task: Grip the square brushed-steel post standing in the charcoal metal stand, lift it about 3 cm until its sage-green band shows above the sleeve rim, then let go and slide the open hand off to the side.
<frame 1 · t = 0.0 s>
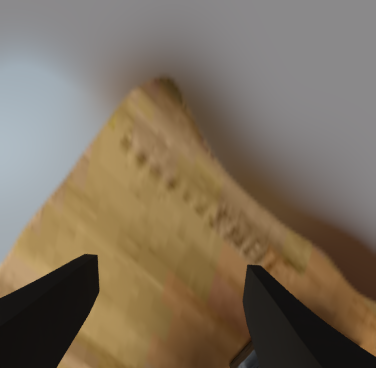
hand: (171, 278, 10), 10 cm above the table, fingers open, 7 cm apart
stand base: (291, 356, 23), on the table
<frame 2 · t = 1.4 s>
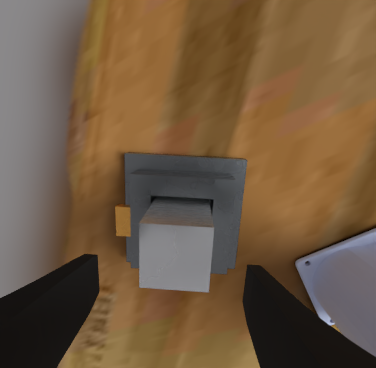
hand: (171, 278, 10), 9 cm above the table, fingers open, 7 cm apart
stand base: (183, 210, 19), on the table
post: (179, 232, 15), point 4 cm above the table, slide at 0.0 cm
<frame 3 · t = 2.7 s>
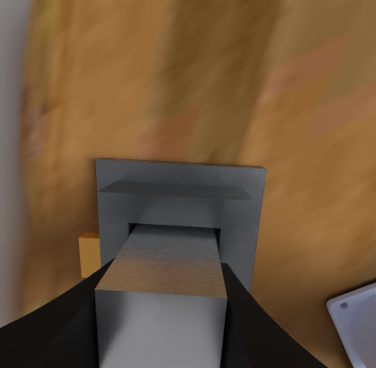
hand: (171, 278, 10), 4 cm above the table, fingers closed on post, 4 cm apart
stand base: (178, 235, 14), on the table
post: (170, 278, 10), point 4 cm above the table, slide at 0.0 cm, touching gripper
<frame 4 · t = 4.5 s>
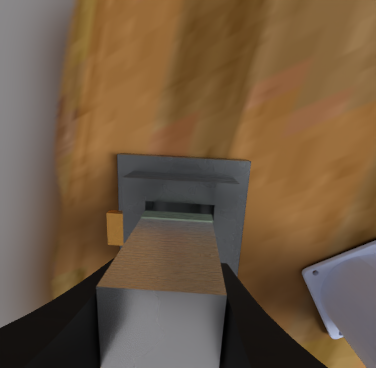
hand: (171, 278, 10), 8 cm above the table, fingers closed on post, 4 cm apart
stand base: (181, 215, 18), on the table
post: (171, 277, 10), point 8 cm above the table, slide at 3.4 cm, touching gripper
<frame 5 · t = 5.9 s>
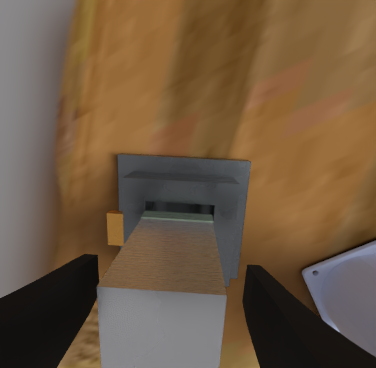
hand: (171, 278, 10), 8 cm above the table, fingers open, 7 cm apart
stand base: (181, 215, 18), on the table
post: (171, 277, 10), point 8 cm above the table, slide at 3.4 cm
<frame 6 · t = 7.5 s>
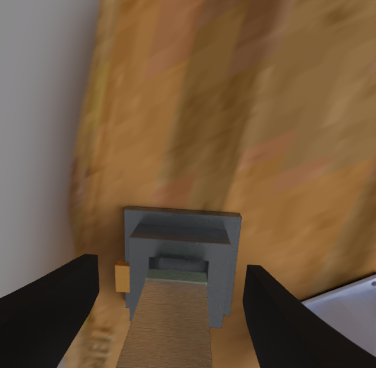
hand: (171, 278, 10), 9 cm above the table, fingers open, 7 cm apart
stand base: (180, 259, 20), on the table
post: (171, 337, 12), point 8 cm above the table, slide at 3.4 cm
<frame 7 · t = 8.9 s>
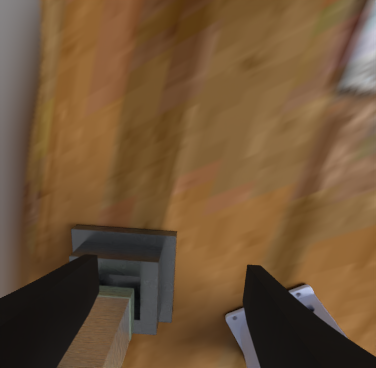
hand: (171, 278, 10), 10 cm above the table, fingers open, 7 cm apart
stand base: (127, 271, 22), on the table
post: (90, 345, 14), point 8 cm above the table, slide at 3.4 cm
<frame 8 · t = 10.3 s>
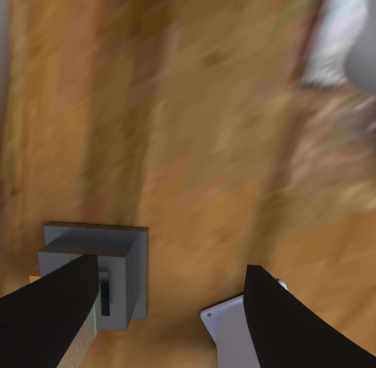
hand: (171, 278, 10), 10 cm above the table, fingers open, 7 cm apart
stand base: (101, 268, 22), on the table
post: (50, 339, 14), point 8 cm above the table, slide at 3.4 cm
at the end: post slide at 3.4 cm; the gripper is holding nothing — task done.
